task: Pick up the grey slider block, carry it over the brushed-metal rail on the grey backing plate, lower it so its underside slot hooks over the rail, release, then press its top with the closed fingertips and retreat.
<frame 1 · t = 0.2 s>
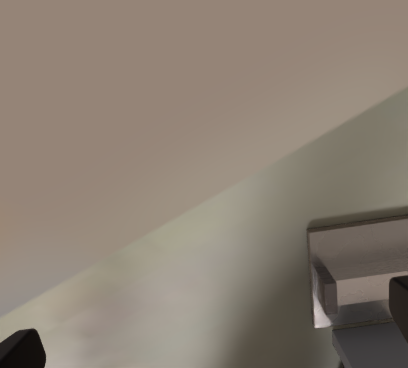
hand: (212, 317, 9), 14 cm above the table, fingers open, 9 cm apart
grey slider block: (364, 356, 27), on the table
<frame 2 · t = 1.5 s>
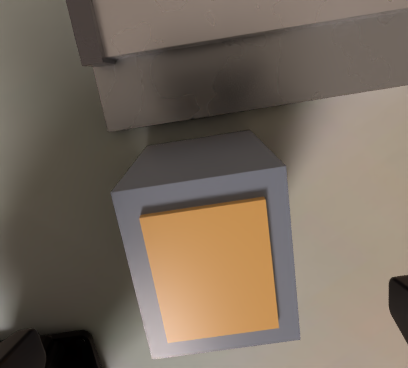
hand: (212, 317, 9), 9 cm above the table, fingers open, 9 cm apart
grey slider block: (207, 196, 17), on the table
rail: (318, 2, 14), on the table
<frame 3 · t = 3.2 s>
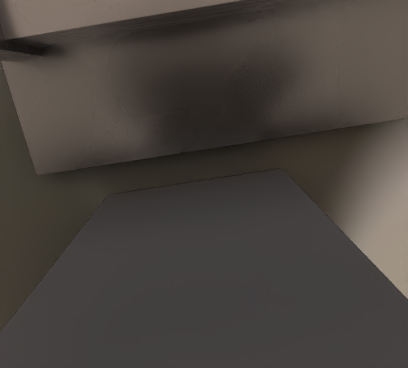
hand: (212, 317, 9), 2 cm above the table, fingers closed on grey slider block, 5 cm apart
grey slider block: (209, 273, 10), on the table, touching gripper
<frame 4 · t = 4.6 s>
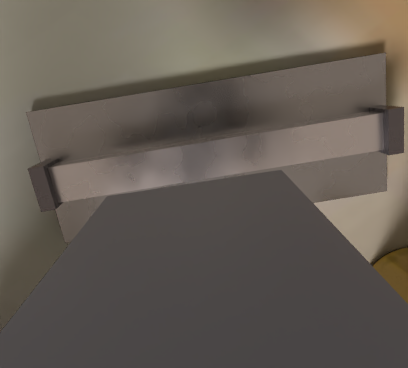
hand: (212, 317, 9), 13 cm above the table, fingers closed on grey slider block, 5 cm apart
vase: (402, 284, 23), on the table
grey slider block: (209, 274, 10), point 11 cm above the table, touching gripper
rail: (214, 151, 20), on the table
when the fingers open (3 cm above the table, at t = 6.3 s): grey slider block stays where it is, resting on rail.
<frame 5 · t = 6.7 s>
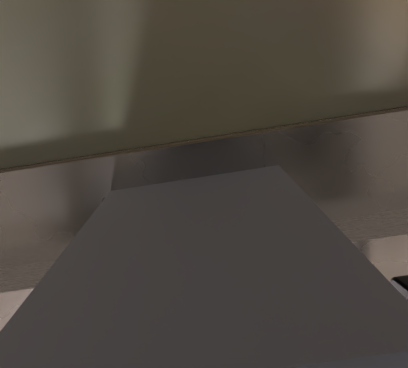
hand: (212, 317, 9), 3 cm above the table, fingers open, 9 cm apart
grey slider block: (209, 266, 11), point 1 cm above the table, touching rail
rail: (209, 256, 11), on the table
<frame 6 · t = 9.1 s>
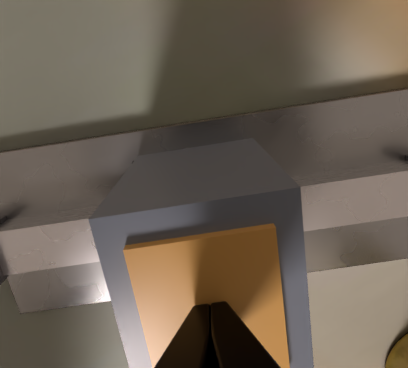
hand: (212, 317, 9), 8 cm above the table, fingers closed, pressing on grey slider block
grey slider block: (205, 210, 15), point 1 cm above the table, touching gripper, rail
rail: (205, 205, 16), on the table
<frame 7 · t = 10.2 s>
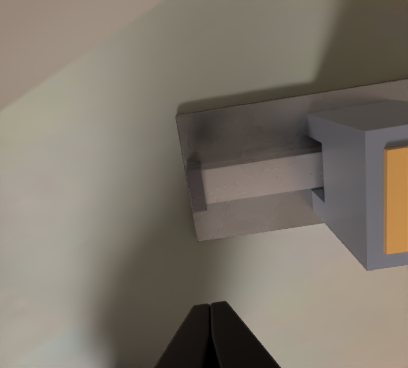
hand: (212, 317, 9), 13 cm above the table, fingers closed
grey slider block: (352, 157, 20), point 1 cm above the table, touching rail
rail: (348, 155, 21), on the table
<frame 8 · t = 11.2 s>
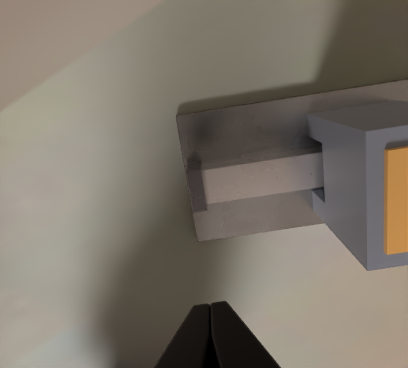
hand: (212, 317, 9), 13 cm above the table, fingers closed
grey slider block: (352, 157, 20), point 1 cm above the table, touching rail
rail: (348, 155, 21), on the table
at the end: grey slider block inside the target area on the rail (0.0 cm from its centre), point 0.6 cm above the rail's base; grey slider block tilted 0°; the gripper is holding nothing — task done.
